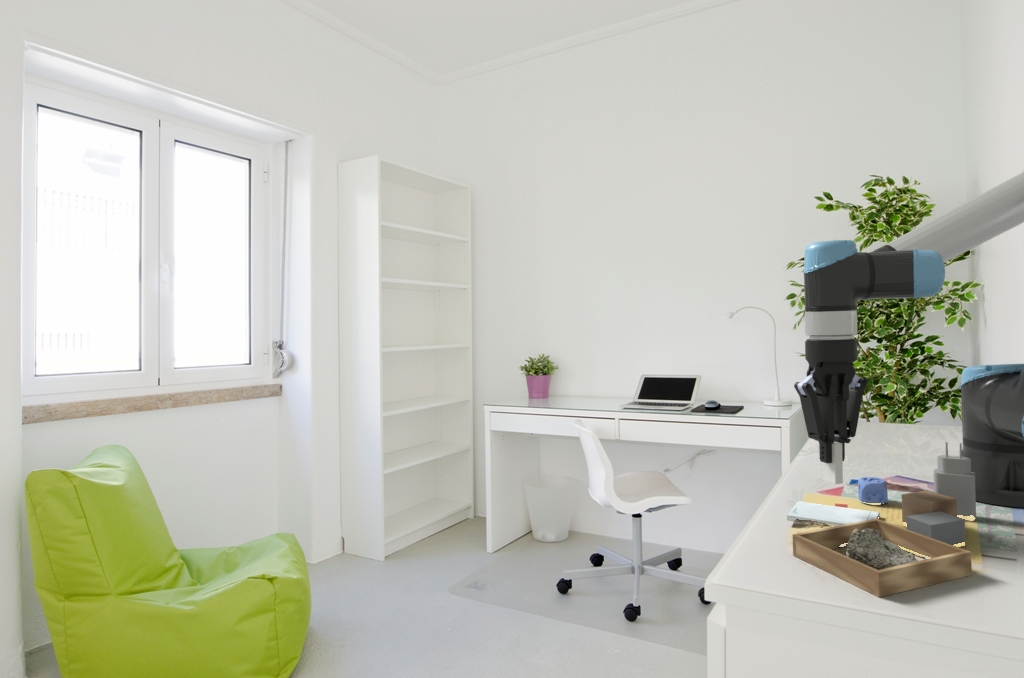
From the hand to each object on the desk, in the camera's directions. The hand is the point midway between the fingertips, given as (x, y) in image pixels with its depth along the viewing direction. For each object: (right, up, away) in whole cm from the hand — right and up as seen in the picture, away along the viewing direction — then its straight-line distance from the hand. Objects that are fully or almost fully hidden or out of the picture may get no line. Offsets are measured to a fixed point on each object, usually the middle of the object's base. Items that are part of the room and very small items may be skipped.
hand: (832, 481), depth 102 cm
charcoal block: (+9, -6, -12) cm, 16 cm away
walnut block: (+12, -6, -6) cm, 15 cm away
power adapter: (+19, -6, -1) cm, 20 cm away
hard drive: (0, -7, +1) cm, 7 cm away
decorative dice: (+11, -6, +8) cm, 14 cm away
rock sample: (-2, -8, -20) cm, 21 cm away
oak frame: (-3, -7, -18) cm, 19 cm away
